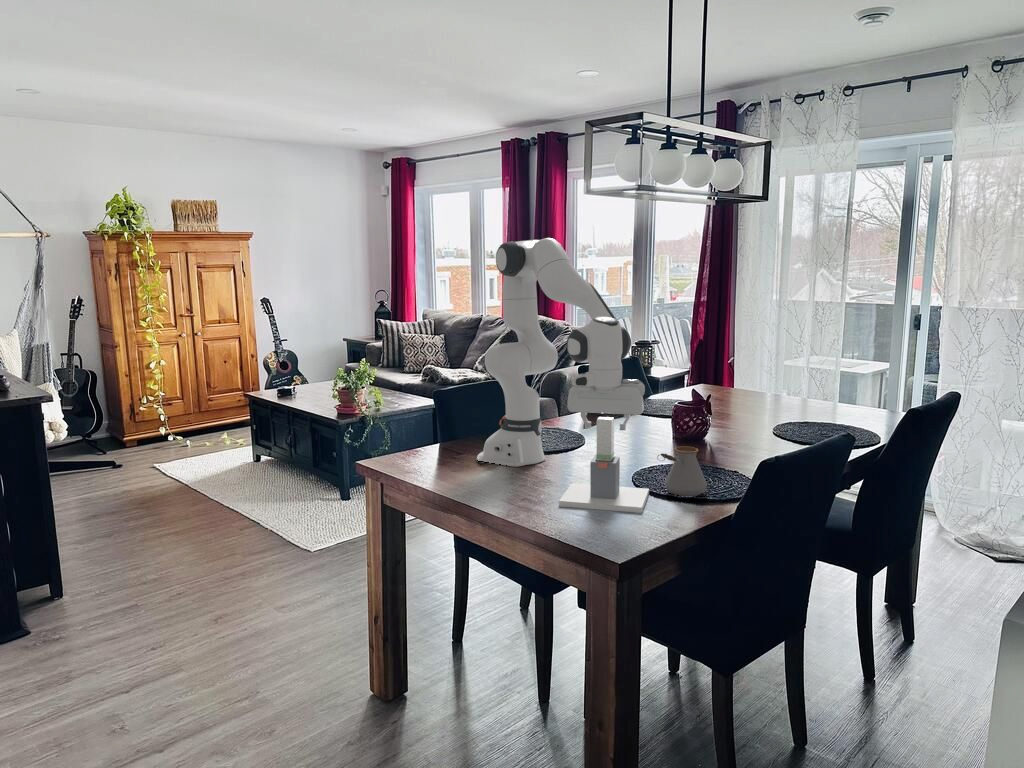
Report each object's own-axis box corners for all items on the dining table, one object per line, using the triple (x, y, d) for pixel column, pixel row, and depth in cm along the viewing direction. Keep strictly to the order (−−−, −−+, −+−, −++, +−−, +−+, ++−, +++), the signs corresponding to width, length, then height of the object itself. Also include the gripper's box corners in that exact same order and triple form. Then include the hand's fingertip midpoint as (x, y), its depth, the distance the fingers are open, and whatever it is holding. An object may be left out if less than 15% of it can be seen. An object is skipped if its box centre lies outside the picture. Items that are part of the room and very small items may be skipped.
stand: (559, 506, 196) (558, 464, 194) (571, 488, 211) (571, 449, 209) (641, 513, 190) (642, 470, 188) (648, 493, 205) (649, 454, 203)
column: (596, 477, 198) (596, 420, 195) (599, 473, 202) (599, 416, 199) (611, 478, 197) (611, 420, 194) (613, 474, 201) (614, 417, 198)
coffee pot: (675, 484, 213) (676, 434, 210) (713, 492, 206) (714, 440, 203) (640, 505, 196) (640, 450, 193) (679, 513, 189) (681, 457, 186)
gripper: (646, 377, 195) (645, 428, 197) (570, 375, 201) (571, 424, 203) (643, 381, 189) (642, 433, 191) (565, 379, 195) (566, 429, 197)
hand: (605, 429), depth 197 cm, fingers open, 8 cm apart
